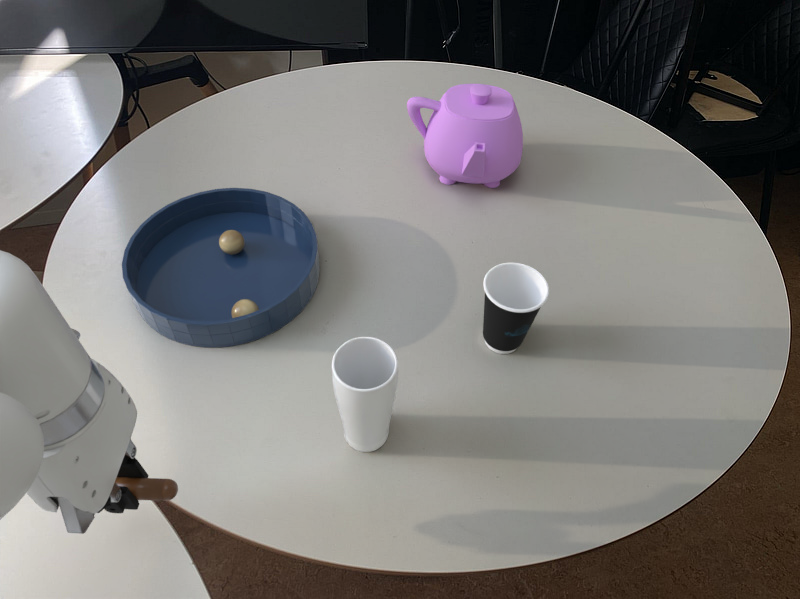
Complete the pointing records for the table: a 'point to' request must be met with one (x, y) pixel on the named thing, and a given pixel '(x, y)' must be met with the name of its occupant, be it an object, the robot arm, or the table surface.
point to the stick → (150, 488)
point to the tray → (222, 266)
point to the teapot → (471, 134)
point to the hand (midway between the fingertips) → (127, 491)
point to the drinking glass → (365, 390)
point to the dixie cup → (511, 304)
